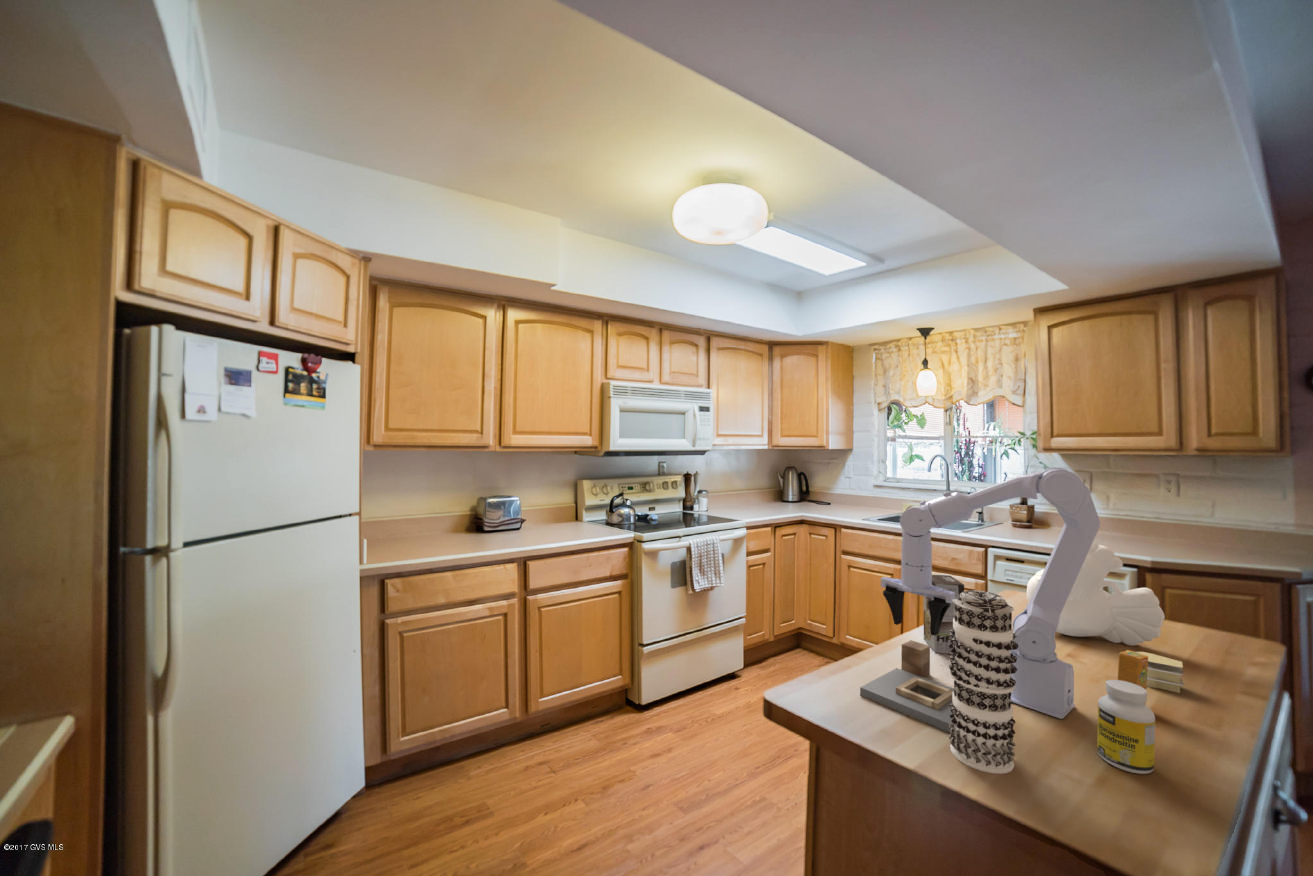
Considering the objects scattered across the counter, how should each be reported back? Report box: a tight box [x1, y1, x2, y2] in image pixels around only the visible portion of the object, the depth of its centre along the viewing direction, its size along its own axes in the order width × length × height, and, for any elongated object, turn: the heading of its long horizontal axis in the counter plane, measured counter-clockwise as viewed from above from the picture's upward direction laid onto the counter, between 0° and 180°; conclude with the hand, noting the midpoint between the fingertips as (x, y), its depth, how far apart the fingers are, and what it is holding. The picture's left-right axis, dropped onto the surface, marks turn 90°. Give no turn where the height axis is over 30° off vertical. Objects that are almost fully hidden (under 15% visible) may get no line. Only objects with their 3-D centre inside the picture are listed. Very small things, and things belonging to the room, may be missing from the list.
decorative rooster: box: [1026, 541, 1166, 646], centre depth 128 cm, size 25×16×25 cm
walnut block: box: [900, 639, 931, 678], centre depth 109 cm, size 4×4×6 cm
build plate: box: [859, 667, 954, 734], centre depth 97 cm, size 18×14×2 cm
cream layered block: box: [1136, 651, 1184, 694], centre depth 105 cm, size 10×9×6 cm
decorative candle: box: [948, 589, 1019, 775], centre depth 80 cm, size 9×9×25 cm
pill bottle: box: [1096, 679, 1156, 775], centre depth 79 cm, size 6×6×12 cm
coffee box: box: [923, 574, 965, 655], centre depth 124 cm, size 9×6×16 cm
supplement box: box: [1117, 649, 1148, 704], centre depth 96 cm, size 3×3×10 cm
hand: (915, 628), depth 109 cm, fingers open, 7 cm apart
